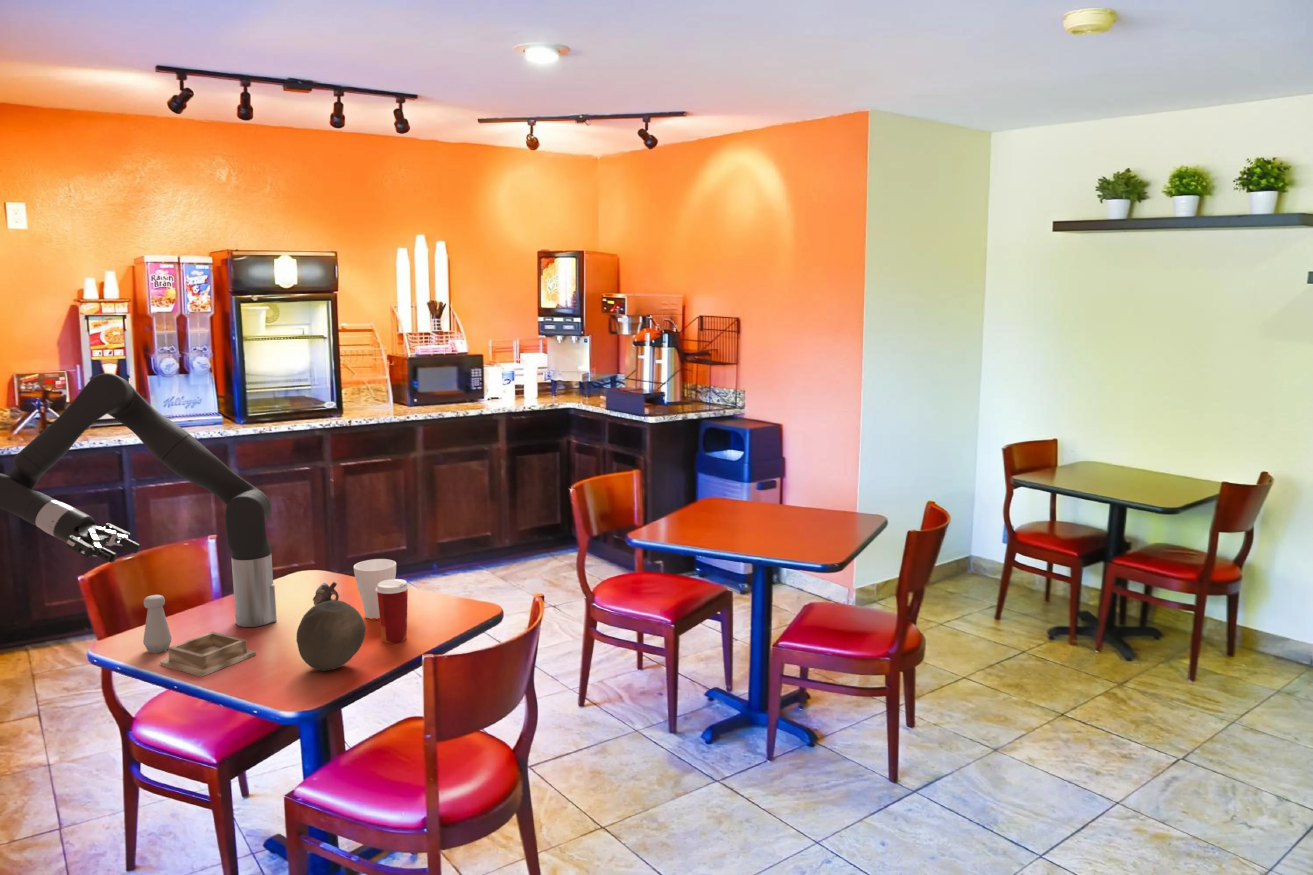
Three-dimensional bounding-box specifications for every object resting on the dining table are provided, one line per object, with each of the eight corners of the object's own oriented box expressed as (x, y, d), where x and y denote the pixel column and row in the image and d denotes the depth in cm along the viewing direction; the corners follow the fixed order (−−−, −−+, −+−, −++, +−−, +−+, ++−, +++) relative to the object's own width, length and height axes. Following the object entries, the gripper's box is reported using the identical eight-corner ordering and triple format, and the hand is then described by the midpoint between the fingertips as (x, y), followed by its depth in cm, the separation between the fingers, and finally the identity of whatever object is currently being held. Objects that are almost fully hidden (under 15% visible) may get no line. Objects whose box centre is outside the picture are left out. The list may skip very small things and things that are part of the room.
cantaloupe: (306, 686, 199) (302, 618, 197) (292, 663, 211) (288, 599, 209) (373, 671, 207) (370, 606, 204) (356, 651, 219) (353, 588, 216)
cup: (407, 613, 244) (405, 562, 242) (375, 625, 235) (372, 573, 233) (379, 606, 250) (377, 556, 248) (347, 617, 241) (344, 566, 239)
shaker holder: (215, 644, 223) (213, 628, 222) (255, 654, 216) (254, 639, 216) (160, 664, 211) (158, 648, 210) (201, 676, 204) (200, 660, 204)
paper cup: (417, 636, 228) (415, 580, 226) (396, 647, 221) (394, 589, 219) (392, 631, 231) (389, 576, 229) (370, 642, 224) (367, 585, 222)
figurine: (311, 627, 234) (309, 580, 232) (341, 623, 237) (339, 577, 235) (313, 637, 228) (310, 589, 226) (344, 632, 230) (341, 585, 228)
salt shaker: (160, 655, 216) (155, 601, 214) (138, 653, 217) (133, 599, 215) (177, 646, 222) (173, 593, 220) (156, 644, 223) (151, 591, 221)
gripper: (48, 514, 210) (113, 547, 209) (91, 501, 224) (151, 532, 224) (36, 543, 211) (101, 576, 211) (80, 529, 225) (140, 560, 225)
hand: (127, 554), depth 217 cm, fingers open, 8 cm apart
